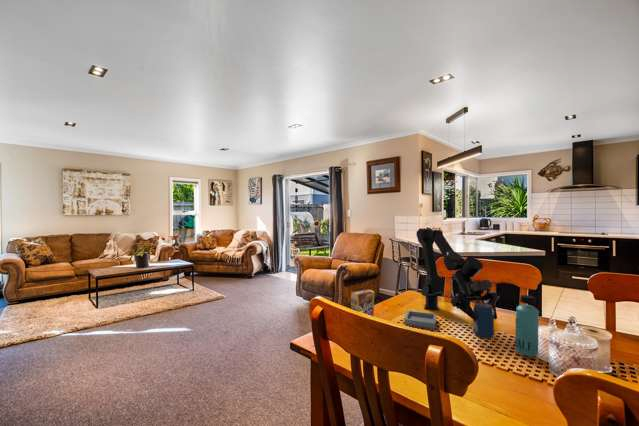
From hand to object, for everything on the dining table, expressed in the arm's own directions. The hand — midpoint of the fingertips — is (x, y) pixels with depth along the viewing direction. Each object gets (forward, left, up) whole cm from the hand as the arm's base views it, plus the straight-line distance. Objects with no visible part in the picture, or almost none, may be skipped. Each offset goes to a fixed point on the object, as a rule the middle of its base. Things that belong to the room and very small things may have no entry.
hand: (486, 319), depth 114 cm
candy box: (+12, -45, -7) cm, 47 cm away
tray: (-6, -24, -7) cm, 25 cm away
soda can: (-1, -1, -7) cm, 7 cm away
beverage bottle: (+12, +10, -7) cm, 17 cm away
